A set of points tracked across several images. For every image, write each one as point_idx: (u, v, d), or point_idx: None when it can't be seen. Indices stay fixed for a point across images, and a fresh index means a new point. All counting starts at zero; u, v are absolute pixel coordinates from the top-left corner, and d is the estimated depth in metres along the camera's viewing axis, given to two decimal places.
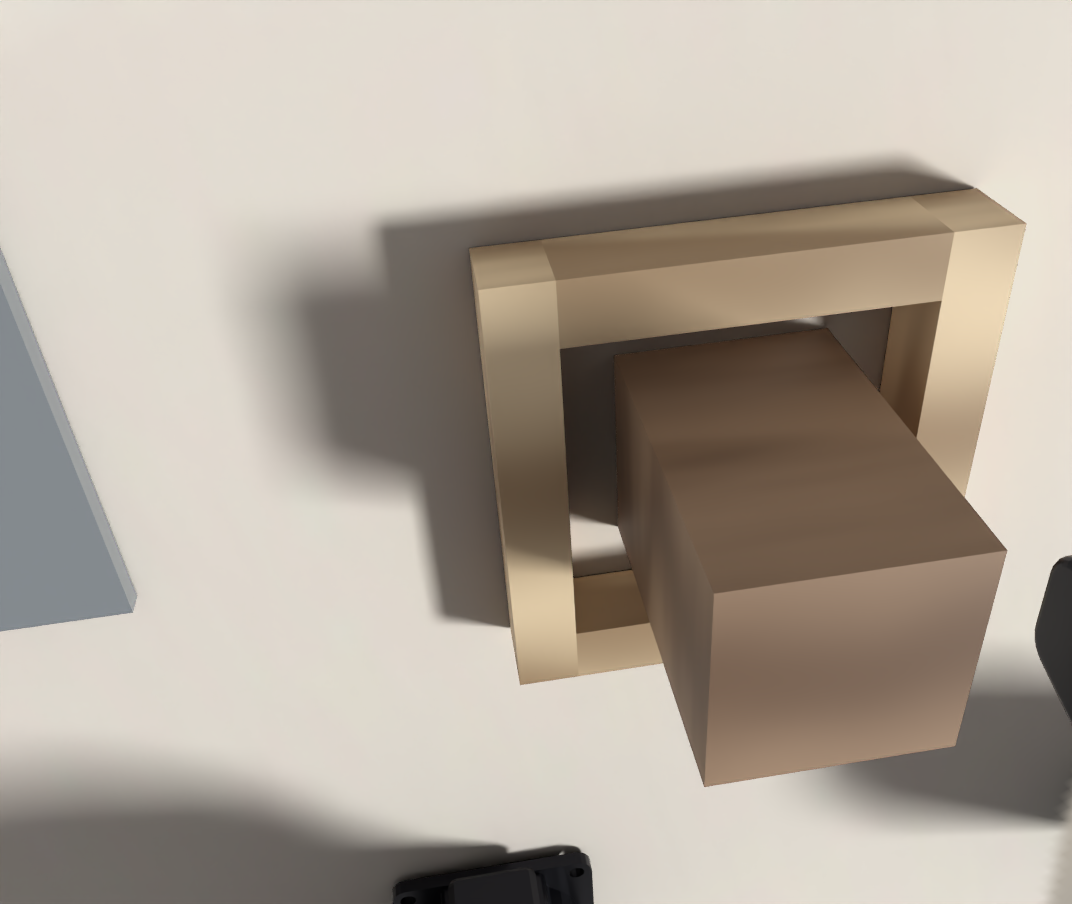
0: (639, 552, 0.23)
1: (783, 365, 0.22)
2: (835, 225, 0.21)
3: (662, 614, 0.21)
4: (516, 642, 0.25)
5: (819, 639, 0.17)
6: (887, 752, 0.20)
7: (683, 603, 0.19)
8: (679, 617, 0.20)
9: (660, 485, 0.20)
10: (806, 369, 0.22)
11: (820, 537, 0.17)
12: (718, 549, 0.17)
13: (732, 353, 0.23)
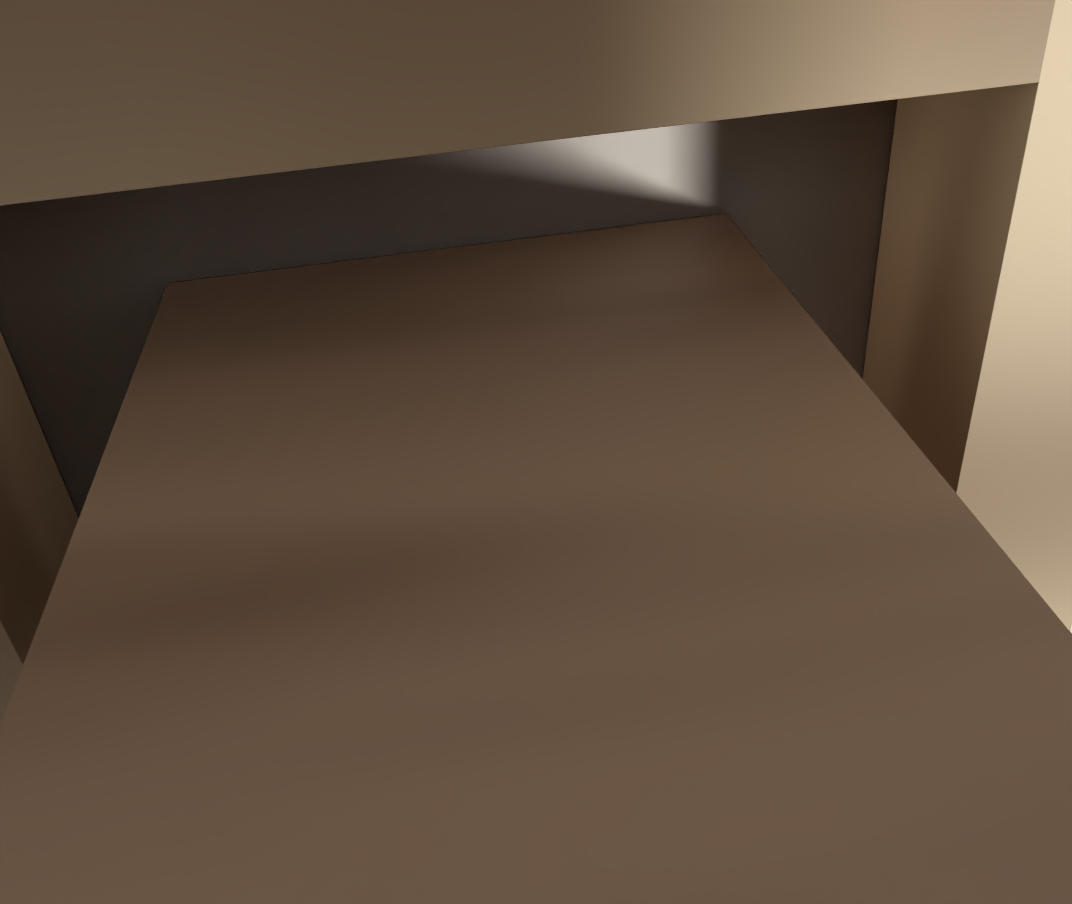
0: None
1: (589, 298, 0.08)
2: None
3: None
4: None
5: None
6: None
7: None
8: None
9: None
10: (650, 308, 0.08)
11: None
12: None
13: (467, 273, 0.09)
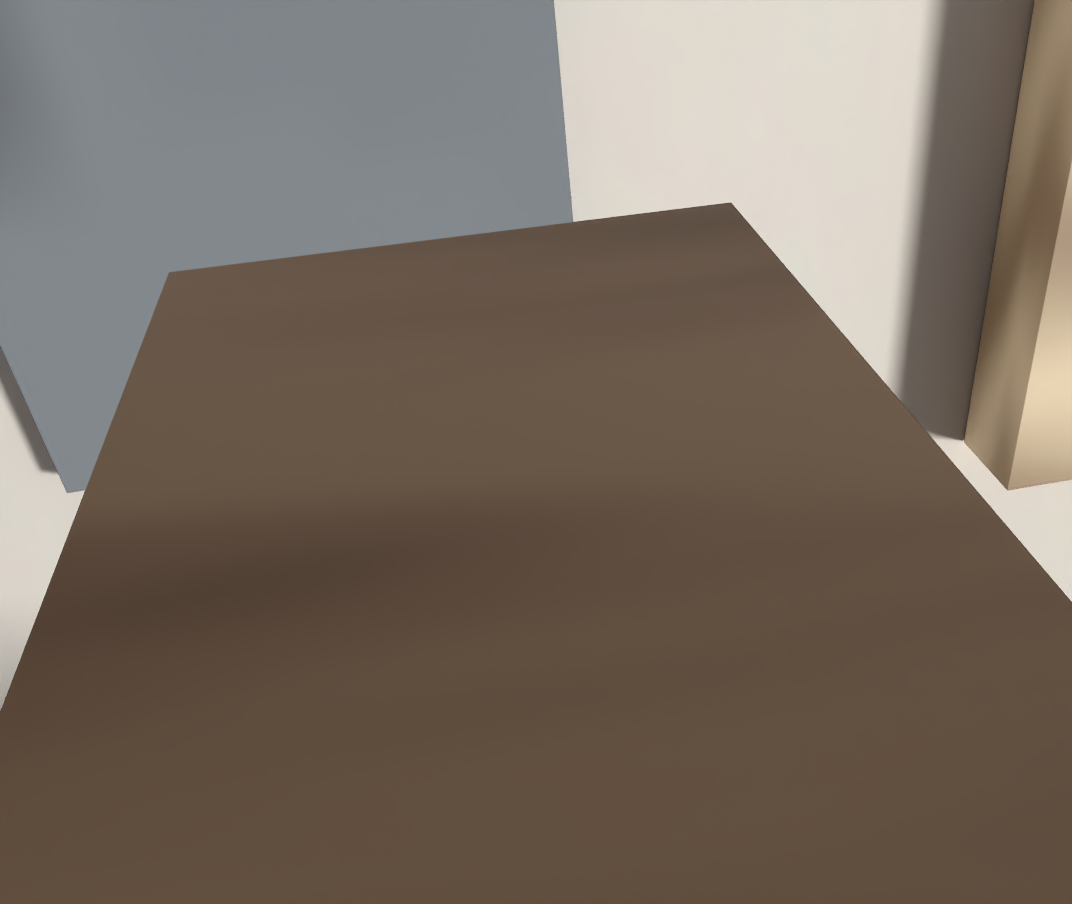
0: None
1: (593, 286, 0.08)
2: None
3: None
4: (1018, 434, 0.22)
5: None
6: None
7: None
8: None
9: None
10: (655, 296, 0.08)
11: None
12: None
13: (470, 262, 0.08)
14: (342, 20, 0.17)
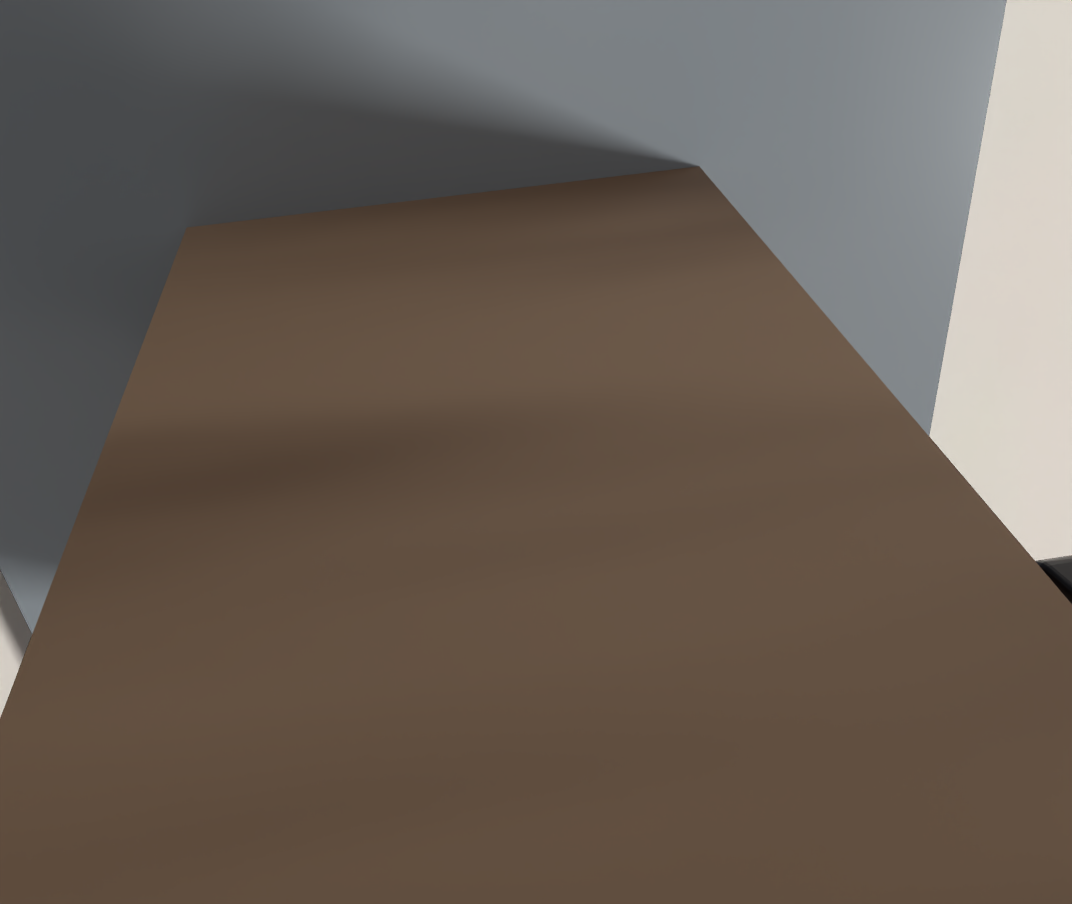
0: None
1: (570, 237, 0.09)
2: None
3: None
4: None
5: None
6: None
7: None
8: None
9: None
10: (625, 244, 0.09)
11: (488, 815, 0.04)
12: (31, 879, 0.04)
13: (460, 217, 0.09)
14: (639, 155, 0.10)
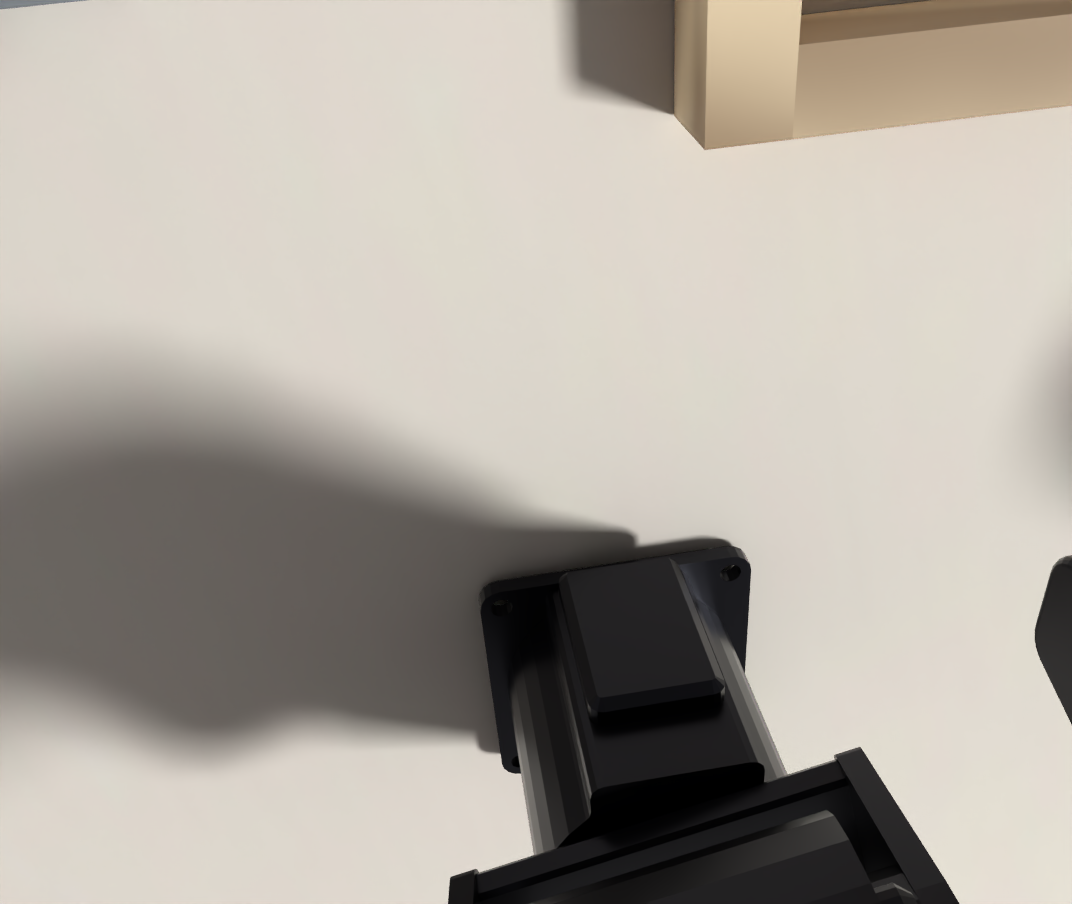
0: None
1: None
2: None
3: None
4: (707, 56, 0.16)
5: None
6: None
7: None
8: None
9: None
10: None
11: None
12: None
13: None
14: None
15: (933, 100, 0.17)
